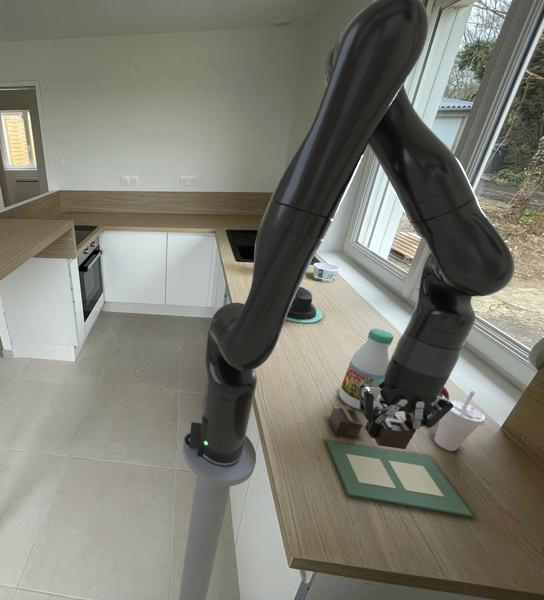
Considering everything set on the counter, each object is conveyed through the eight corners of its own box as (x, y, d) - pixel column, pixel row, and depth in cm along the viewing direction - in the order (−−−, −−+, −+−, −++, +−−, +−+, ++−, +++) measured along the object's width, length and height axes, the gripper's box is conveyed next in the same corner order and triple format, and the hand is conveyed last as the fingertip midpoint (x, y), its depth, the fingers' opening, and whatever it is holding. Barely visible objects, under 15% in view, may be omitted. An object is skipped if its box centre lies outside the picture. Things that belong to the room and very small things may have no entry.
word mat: (348, 495, 59) (349, 493, 59) (326, 442, 70) (327, 440, 69) (471, 517, 56) (472, 514, 56) (428, 458, 67) (430, 456, 67)
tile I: (335, 434, 72) (340, 420, 70) (328, 419, 76) (333, 405, 74) (357, 438, 71) (363, 423, 69) (349, 422, 75) (354, 408, 73)
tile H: (378, 445, 58) (386, 428, 56) (366, 426, 62) (374, 409, 60) (405, 449, 57) (414, 432, 55) (392, 430, 61) (400, 413, 59)
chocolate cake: (256, 300, 134) (294, 296, 141) (278, 338, 124) (318, 332, 131) (275, 277, 123) (315, 273, 129) (301, 317, 112) (343, 311, 119)
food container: (318, 272, 171) (321, 261, 168) (341, 280, 162) (345, 267, 159) (305, 277, 165) (308, 264, 162) (328, 284, 156) (332, 271, 153)
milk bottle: (343, 385, 87) (367, 321, 79) (376, 400, 82) (405, 333, 74) (334, 399, 82) (358, 332, 74) (368, 415, 77) (399, 345, 69)
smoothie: (454, 436, 72) (484, 387, 66) (471, 459, 67) (505, 408, 61) (421, 429, 74) (447, 380, 68) (434, 451, 68) (464, 400, 63)
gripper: (454, 353, 55) (416, 427, 62) (364, 343, 57) (337, 416, 64) (489, 381, 48) (442, 460, 55) (385, 369, 50) (352, 447, 57)
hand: (385, 436), depth 59 cm, fingers closed on tile H, 4 cm apart
